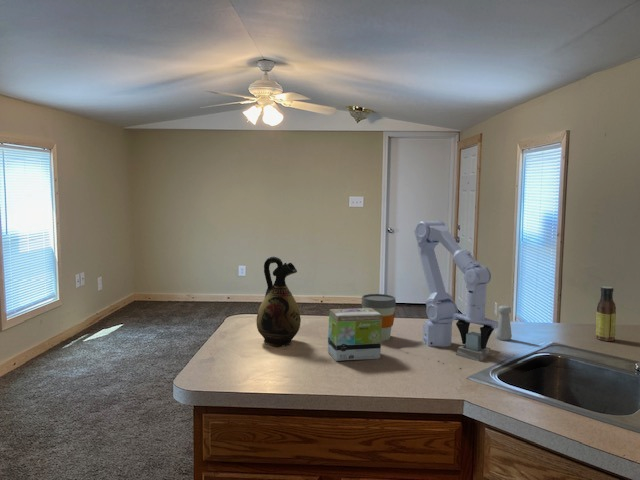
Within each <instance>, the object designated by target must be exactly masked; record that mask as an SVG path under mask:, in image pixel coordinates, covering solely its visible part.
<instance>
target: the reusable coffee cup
mask: <svg viewBox="0 0 640 480" xmlns="http://www.w3.org/2000/svg"><path fill="white" fill-rule="evenodd" d="M396 303H397V301H396V297H395V296H394V295H391V294H386V293H385V294H381V293H368V294H363V295H362V298H361V306H362V308H372V309H374V310H375V311H377V312H378V313H380V314H381V315H382V331H381V342H385V341H388V340H390V338H391V333H392V327H393V326H394V322H395V321H394V320H395V315H396V313H395V308H396V306H397V304H396Z"/></svg>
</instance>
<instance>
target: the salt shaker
mask: <svg viewBox="0 0 640 480" xmlns="http://www.w3.org/2000/svg"><path fill="white" fill-rule="evenodd" d="M498 312H499V317H498V320H497V321H498V322H499V323H498V328H496V329H495V330H494V331H495V332H494V336H495V339H496V340H499V341H503V342H504V341H510V340H511V339H512V336H513V335H512V328H511V319H510V314H511V313H512V308H511V306H509V305H500V306H498Z"/></svg>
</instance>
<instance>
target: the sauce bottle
mask: <svg viewBox="0 0 640 480" xmlns="http://www.w3.org/2000/svg"><path fill="white" fill-rule="evenodd" d="M614 291H615V290H614V287H613V286H608V285H607V286H605V285H603V286H600V299H599V301H598V304H597V308H596V316H595V317H596V319H595V320H596V322H595V336H596V337H595V338H596V339H598V340H600V341H601V342H602V341H604V342H614V341H615V339H616V338H615V337H616V322H617V312H616V310H617V306H616V303H615V301H614V298H613V296H614V294H613V293H614Z"/></svg>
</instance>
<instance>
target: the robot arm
mask: <svg viewBox="0 0 640 480" xmlns="http://www.w3.org/2000/svg"><path fill="white" fill-rule="evenodd" d="M449 231H450V229H449V226H447V225H446V223H445V222H444V221H443V220H437V221H436V220H434V221H433V220H432V221H431V220H430V221H427V220H426V221H425V220H420V221H419V222H418V223H417V224H416V226H415V228H414V236H415V239H416V242H417V251H418V254H419V255H418V256H419V258H420V263H421V267H422V270H423V273H424V274H423V275H424V277H425V281H426V285H427V288H428V292H429V296H428V297H427V299H426V301H425V306H426V311H425V312H426V315H427V318H428V320H426V321H424V323H423V326H422V327H423V329H422V342H423V343H424V344H425V345H426V346H427V347H440V348H441V347H451V346H452V340H453V339H452V337H453V336H452V335H453V322H454V321H457V322H455V325H456V327H457V329H458V331H459V334H460V337H461V343H462V345H465V344H466V334H467V333H469V330H470V325H471V324H475V325H479V326H481V327H479V331H480V333H481V349H484V348H486V347H487V346H488V345H487V344H488V341H489V340H490V336H491V335H492V333H493V331H495V330H496V328H498V323H499V322H498V320H494V319H490V318H487V317H486V304H487V303H486V302H487V301H486V300H487V285H488V284H489V283H490V281H491V279H492V274H491V271H490V270H489V268H488V267H487V266H485V265H481V263H480V262H478V261H477V260H476V259H475V258H474V256H473V255H472V252H471V251H470V250H467V249H462V248H461V246H460V245H459V244H458V242H457V241H456V239H454V237H453V235H452V234H451V233H450V232H449ZM439 243H441V244H442V246H443V247H444V248H445V249H446V250H447V251H448V252H449V253H450V254H451V255H452V262H453V263H454V264H455V265H456V266H457V268H458V269H459V271H461V272H462V274H463V280H464V282H465V285H466V287H465V288H466V291H467V292H466V310H465V311H466V312H465V313H466V314H465V313H458V311H459V309H458V306H457V304H456V303H455V301H454V299H453V296H452V295H451V294H449V293H448V292H447V291H446V287H445V285H444V281H443V277H442V274H441V269H440V266H439V263H438V262H439V261H438V259H437V255H436V252H435V248H436V246H438V245H439Z"/></svg>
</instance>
